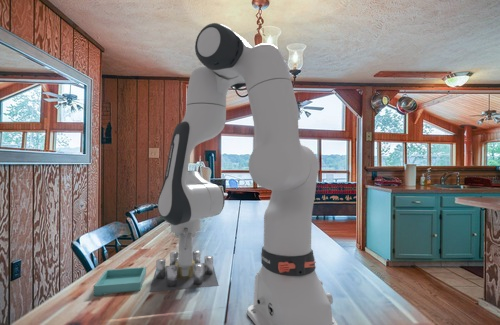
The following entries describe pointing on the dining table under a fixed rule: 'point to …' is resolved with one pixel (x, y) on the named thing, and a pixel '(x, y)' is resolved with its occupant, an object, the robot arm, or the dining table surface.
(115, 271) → the parts tray
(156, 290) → the mat
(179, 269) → the brass nut
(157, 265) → the steel spacers
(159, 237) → the dining table surface
